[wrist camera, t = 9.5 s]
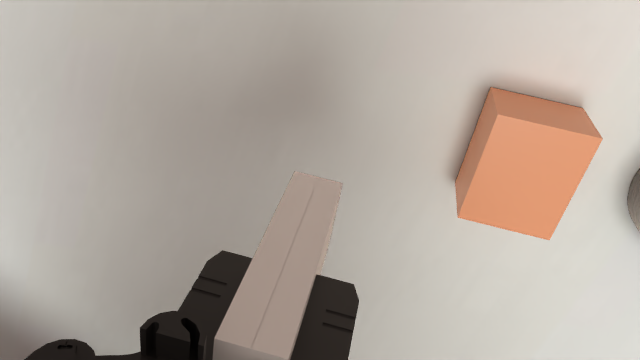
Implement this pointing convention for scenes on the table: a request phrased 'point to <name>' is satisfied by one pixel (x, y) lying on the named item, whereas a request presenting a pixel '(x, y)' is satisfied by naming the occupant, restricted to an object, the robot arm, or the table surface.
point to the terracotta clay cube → (524, 163)
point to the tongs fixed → (635, 200)
